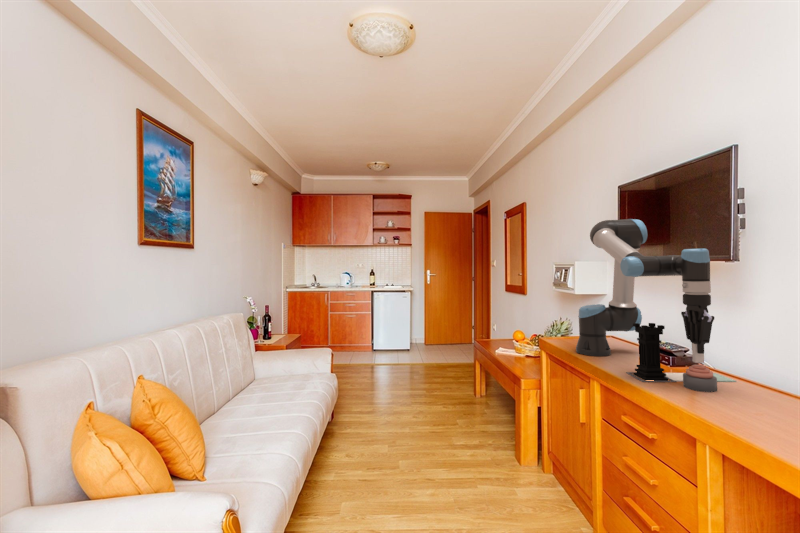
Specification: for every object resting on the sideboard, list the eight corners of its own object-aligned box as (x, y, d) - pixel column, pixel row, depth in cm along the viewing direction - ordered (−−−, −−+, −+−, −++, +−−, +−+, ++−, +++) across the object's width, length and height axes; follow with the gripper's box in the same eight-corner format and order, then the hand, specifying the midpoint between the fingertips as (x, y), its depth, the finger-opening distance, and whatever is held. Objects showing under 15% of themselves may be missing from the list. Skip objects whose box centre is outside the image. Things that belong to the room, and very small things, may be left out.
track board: (626, 373, 144) (626, 371, 144) (714, 373, 141) (713, 372, 141) (642, 381, 133) (642, 380, 133) (738, 382, 129) (738, 381, 129)
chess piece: (655, 374, 141) (653, 322, 142) (668, 380, 133) (666, 326, 134) (633, 374, 142) (631, 323, 142) (645, 380, 134) (643, 326, 134)
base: (677, 383, 130) (676, 372, 130) (704, 383, 129) (704, 372, 129) (694, 392, 121) (694, 380, 121) (724, 392, 120) (723, 380, 120)
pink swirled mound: (681, 372, 129) (680, 363, 129) (703, 372, 128) (703, 363, 128) (695, 378, 122) (694, 368, 122) (718, 378, 121) (718, 368, 121)
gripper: (672, 292, 132) (674, 357, 132) (697, 295, 119) (699, 367, 119) (695, 292, 131) (697, 357, 131) (722, 294, 118) (724, 367, 118)
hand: (698, 362), depth 125 cm, fingers closed
